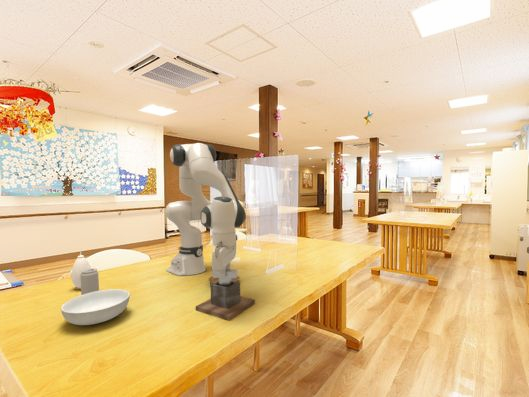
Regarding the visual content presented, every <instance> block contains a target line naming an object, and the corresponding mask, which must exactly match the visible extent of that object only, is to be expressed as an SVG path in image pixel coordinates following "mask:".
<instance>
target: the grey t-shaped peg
mask: <svg viewBox="0 0 529 397" xmlns="http://www.w3.org/2000/svg"><path fill="white" fill-rule="evenodd" d="M238 270H239V269H236V268H229V269H225V272H226V277H225V278H221V275H220V271H213V270H212V276H213V278H219V285H220V286H225V287H228V286H231V285H232V278H236V277H237V276H239V274H238V272H239V271H238Z"/></svg>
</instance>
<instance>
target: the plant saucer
mask: <svg viewBox="0 0 529 397" xmlns="http://www.w3.org/2000/svg"><path fill="white" fill-rule="evenodd" d="M240 279H241V278H240V276H239V275H238V276H237V277H236V278H232V281H235V282H239V280H240ZM208 281H209V283H210V285H211V284H213V283H216V282H218V281H219V278H213V275H211V276H210V277H209V278H208Z"/></svg>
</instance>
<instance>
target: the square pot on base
mask: <svg viewBox="0 0 529 397" xmlns="http://www.w3.org/2000/svg"><path fill="white" fill-rule="evenodd" d="M255 304H256V300H255V299H253V298H250V297H245V296H241V282H239V281H237V282H235V281H232V285H231V286H228V287H225V286H220V285H219V281H218V282H216V283H213V284H211V283H210V299H209V298H208V299H207V300H205V301H203V302H201V303H199V304H197V305H196V306H195V311H197V312H199V313H204V314H207V315H209V316H213V317H216V318H219V319H223V320H226V321H230V320H232V319H233V318H235V317H237V316H238V315H240V314H241V313H243V312H244V311H246V310H247V309H249V308H251V307H252V306H254V305H255Z"/></svg>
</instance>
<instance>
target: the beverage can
mask: <svg viewBox="0 0 529 397" xmlns="http://www.w3.org/2000/svg"><path fill="white" fill-rule="evenodd" d="M80 278H81V289H80V292H81V295H84V294H87V293H91V292H95V291H100V285H99V283H100V281H99V271H98V268H91V269H86V270H83V271H81V275H80ZM81 295H80V296H81Z"/></svg>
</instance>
